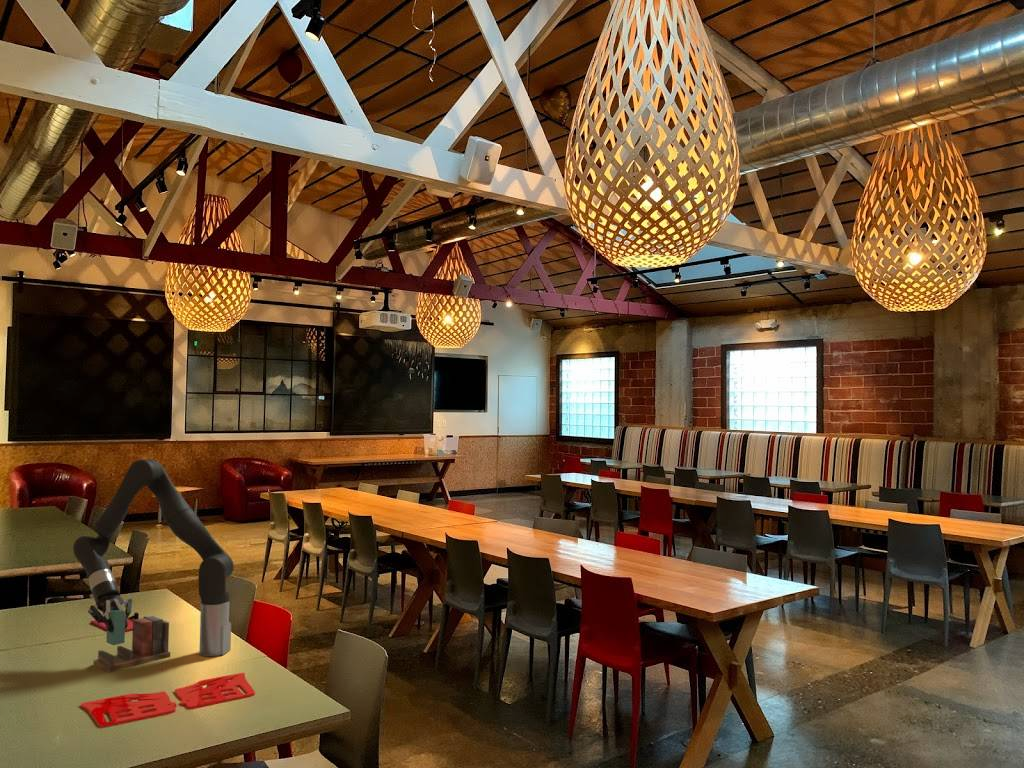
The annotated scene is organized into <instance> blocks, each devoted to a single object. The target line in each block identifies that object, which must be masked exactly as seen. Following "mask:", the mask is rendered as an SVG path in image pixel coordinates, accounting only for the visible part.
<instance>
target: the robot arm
mask: <svg viewBox="0 0 1024 768" xmlns="http://www.w3.org/2000/svg"><path fill="white" fill-rule="evenodd" d="M145 486H146V488H148V489H149V491H151V493H152V494H153V496H155V498H156V501H157V502H158V505H159V508H160V512H161V515H162V518H163V520H164V522H165V523H166V525H167V526H168V527H169V529H170V530H171V531H172V533H173V534H174V535H175V536H176V537H177V538H178V539H179V540H181V541H182V542H184V543H185V544H187V546H189V547H191V548H192V549H193V550H194V551H195V552H196V553H197V554H198V555H199V556H200V558H201V559H202V562H201V563H200V564H199V567H198V577H197V578H198V595H199V598H200V617H199V619H200V620H199V623H200V624H199V651H198V652H199V655H200V656H203V657H216V656H224V655H225V654H228V652H229V651H231V649H232V648H231V645H232V622H231V621H230V599H231V598H230V597H231V596H230V595H231V594H230V593H229V592H228V591H227V590H226V579H228V578H229V577H230V576H232V575H233V572H234V567H235V565H234V561H233V559H232V558H231V555H229V554H228V553H227V552H226V551H225V550H224V548H223V547H221V545H220V544H219V542H217V540H215V539H214V537H213V536H212V535H211V534H210V532H209V531H208V529H207V528H206V526H205V525H204V524H203V523H202V521H201V520H200V517H198V515H197V514H196V513H195V511H194V510H193V508H192V507H191V506H190V505H189V504H188V502H187V500H185V498H184V497H183V496H182V494H181V493H180V492H179V490H178V489H177V487H176V486H175V485H174V484H173V482H172V481H171V479H170V477H169V475H168V473H167V472H166V470H165V468H164V466H163V465H162V463H160V462H159V461H158V460H155V459H153V458H146V459H145V458H142V459H137V460H135V461H133V462H131V465H130V466H129V468H128V469H127V471H126V473H125V474H124V477H123V479H122V481H121V483H120V485H119V487H117V490H116V492H115V493H114V495H113V496H112V499H111V500H110V502H109V503H108V504H107V506H106V507H105V509H104V510H103V512H102V513H101V514H100V516H99V517H98V518H97V520H95V522H94V524H93V527H92V530H94V533H96V534H97V536H96V537H94V536H87V535H82V536H80V537H78V538H76V540H75V541H74V543H73V547H72V548H73V554H74V556H75V558H76V559H77V561H78V562H79V563H80V565H81V566H82V568H83V569H84V570H85V572H86V576H87V578H88V583H89V587H90V591H91V594H92V597H93V600H94V602H95V604H94V605H93V604H91V605H90V606H89V608H88V610H87V612H88V614H89V615H90V616H91V617H92V618H93V619H94V620H96V621H97V622H98V623H105V625H106V628H107V631H109V632H110V633H112V632H113V631H114V626H113V623H112V621H111V620H110V614H109V612H110V611H112V610H122V611H124V608H125V612H126V615H125V630H126V628H127V626H128V622H127V619H126V618H129V617H130V615H131V614H132V606H133V605H132V604H133V599H132V598H128V599H124V598H123V597H122V596H121V593H120V590H119V589H120V588H119V587H118V583H117V581H116V578H115V575H114V574H113V572H112V569H111V567H110V564H109V562H108V559H107V558H106V557H104V555H106V553H107V552H108V549H109V547H110V544H111V542H112V539H113V536H114V534H115V533H116V531H117V530H118V528H119V527H120V526H121V524H122V523H123V521H124V519H125V518H126V515H127V514H128V512H129V508H130V506H131V503H132V501H133V499H134V498H135V496H137V494H138V493H139V492H140V491H141V490H142V489H143V488H145ZM122 605H123V606H124V607H123V606H122ZM100 611H101V612H102V613H101V612H100ZM107 631H106V632H107Z"/></svg>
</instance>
